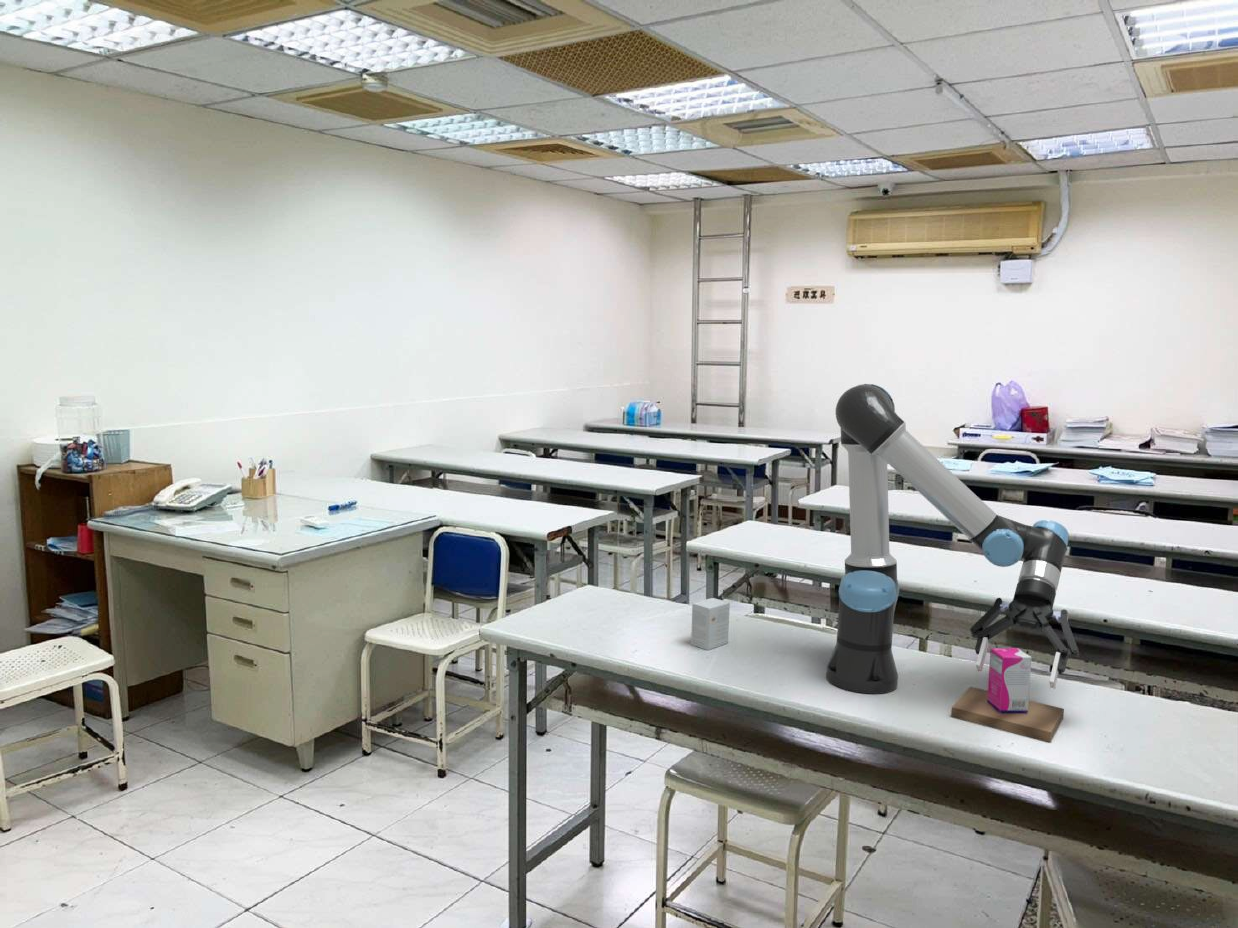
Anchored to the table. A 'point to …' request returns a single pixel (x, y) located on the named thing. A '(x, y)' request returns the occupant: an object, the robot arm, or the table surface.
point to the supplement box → (1009, 680)
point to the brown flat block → (1009, 716)
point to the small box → (710, 623)
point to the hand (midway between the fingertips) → (1014, 676)
